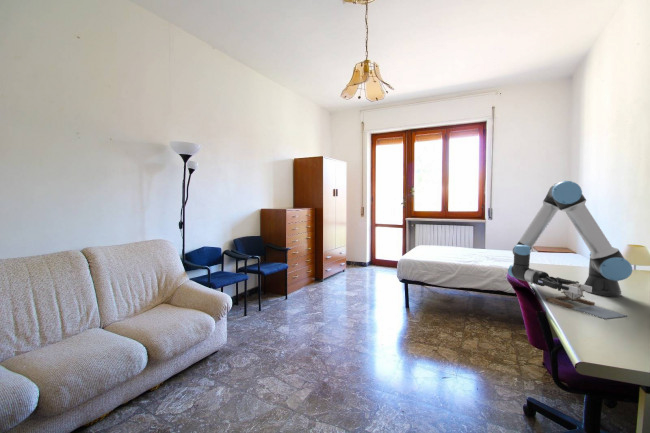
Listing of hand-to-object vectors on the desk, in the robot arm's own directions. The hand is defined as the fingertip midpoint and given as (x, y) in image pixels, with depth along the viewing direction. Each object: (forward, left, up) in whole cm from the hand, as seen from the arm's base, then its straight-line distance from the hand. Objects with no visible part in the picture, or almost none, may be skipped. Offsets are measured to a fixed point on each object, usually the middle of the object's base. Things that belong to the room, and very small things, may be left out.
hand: (584, 290), depth 138 cm
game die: (0, -5, -6) cm, 8 cm away
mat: (0, +7, -8) cm, 10 cm away
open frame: (0, -6, -8) cm, 10 cm away
